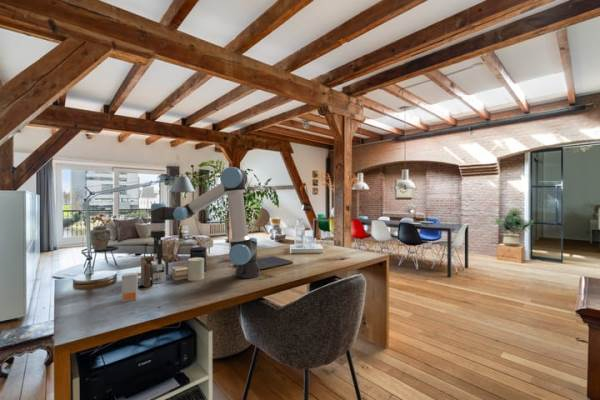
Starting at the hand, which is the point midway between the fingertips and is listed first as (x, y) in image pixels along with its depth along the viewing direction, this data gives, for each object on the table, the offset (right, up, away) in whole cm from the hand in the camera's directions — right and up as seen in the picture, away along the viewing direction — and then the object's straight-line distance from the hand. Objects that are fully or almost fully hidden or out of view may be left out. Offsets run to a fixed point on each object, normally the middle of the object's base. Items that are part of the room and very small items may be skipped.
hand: (157, 267), depth 161 cm
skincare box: (+2, -8, -29) cm, 31 cm away
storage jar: (+16, -8, +20) cm, 26 cm away
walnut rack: (-1, -8, +1) cm, 8 cm away
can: (+20, -8, +4) cm, 22 cm away
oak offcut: (+10, -8, +8) cm, 15 cm away
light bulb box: (0, -8, 0) cm, 8 cm away
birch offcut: (+10, -5, +7) cm, 13 cm away
